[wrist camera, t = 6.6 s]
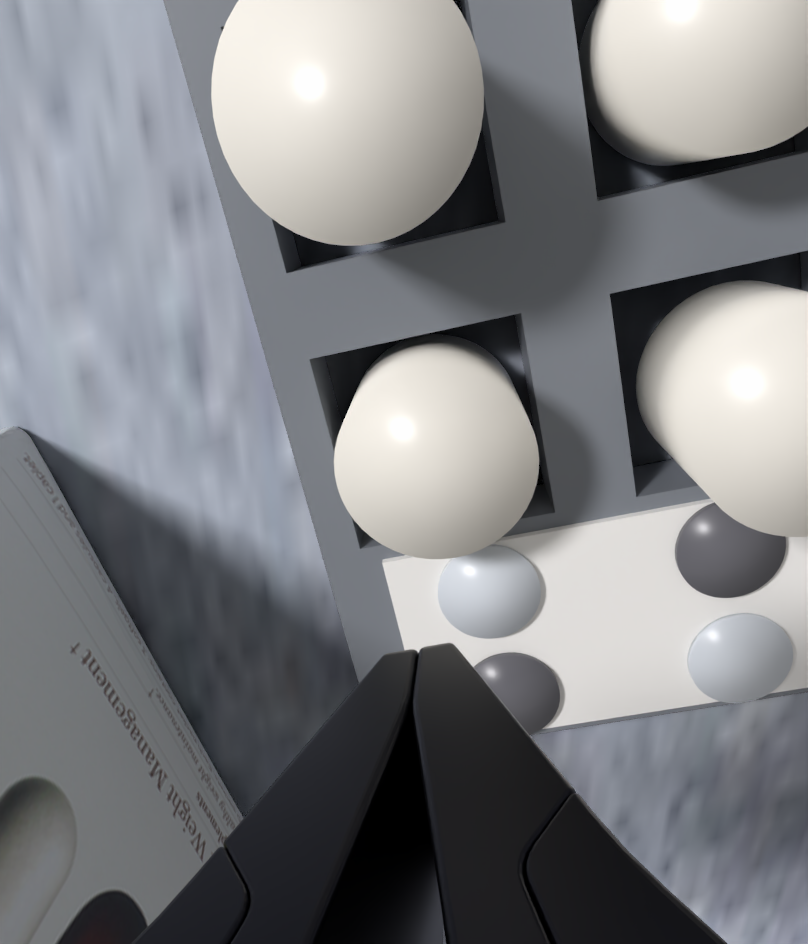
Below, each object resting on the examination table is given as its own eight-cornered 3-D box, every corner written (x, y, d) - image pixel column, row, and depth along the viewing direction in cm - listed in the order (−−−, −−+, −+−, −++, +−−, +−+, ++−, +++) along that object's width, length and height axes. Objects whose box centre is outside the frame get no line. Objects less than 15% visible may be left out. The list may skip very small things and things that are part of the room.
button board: (829, -198, 15) (897, -268, 13) (854, 637, 22) (903, 687, 19) (182, -17, 17) (143, -51, 15) (384, 713, 23) (379, 768, 21)
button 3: (771, -80, 16) (875, -169, 12) (782, 140, 17) (879, 122, 14) (564, -24, 16) (602, -94, 13) (591, 186, 18) (634, 179, 14)
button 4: (827, 259, 16) (945, 276, 13) (834, 447, 18) (943, 513, 14) (624, 303, 17) (679, 332, 13) (646, 483, 18) (703, 555, 14)
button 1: (449, -18, 15) (453, -94, 11) (489, 211, 16) (505, 213, 12) (238, 39, 15) (174, -16, 12) (295, 256, 17) (254, 271, 13)
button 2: (503, 317, 19) (520, 345, 15) (531, 477, 20) (553, 539, 16) (335, 354, 19) (310, 389, 16) (374, 508, 21) (360, 575, 17)
